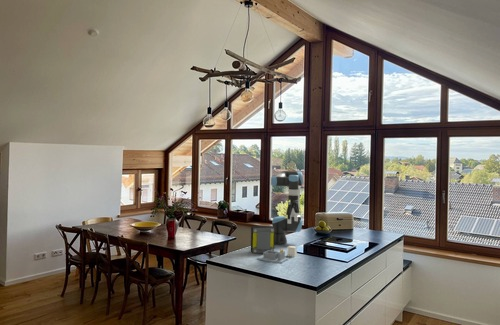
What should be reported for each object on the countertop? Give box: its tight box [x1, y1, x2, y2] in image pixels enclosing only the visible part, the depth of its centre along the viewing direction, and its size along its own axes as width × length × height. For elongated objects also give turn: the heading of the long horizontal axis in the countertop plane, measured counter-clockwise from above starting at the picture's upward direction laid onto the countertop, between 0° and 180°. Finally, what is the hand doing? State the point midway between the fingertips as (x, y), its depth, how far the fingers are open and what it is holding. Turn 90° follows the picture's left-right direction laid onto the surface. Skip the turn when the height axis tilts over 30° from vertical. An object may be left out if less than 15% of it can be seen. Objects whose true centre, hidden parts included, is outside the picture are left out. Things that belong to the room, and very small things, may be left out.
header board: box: [256, 248, 289, 264], centre depth 272 cm, size 12×20×9 cm, turn 61°
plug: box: [286, 245, 298, 258], centre depth 284 cm, size 4×6×7 cm
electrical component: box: [250, 225, 275, 254], centre depth 294 cm, size 18×10×20 cm, turn 101°
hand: (292, 222), depth 284 cm, fingers open, 13 cm apart
